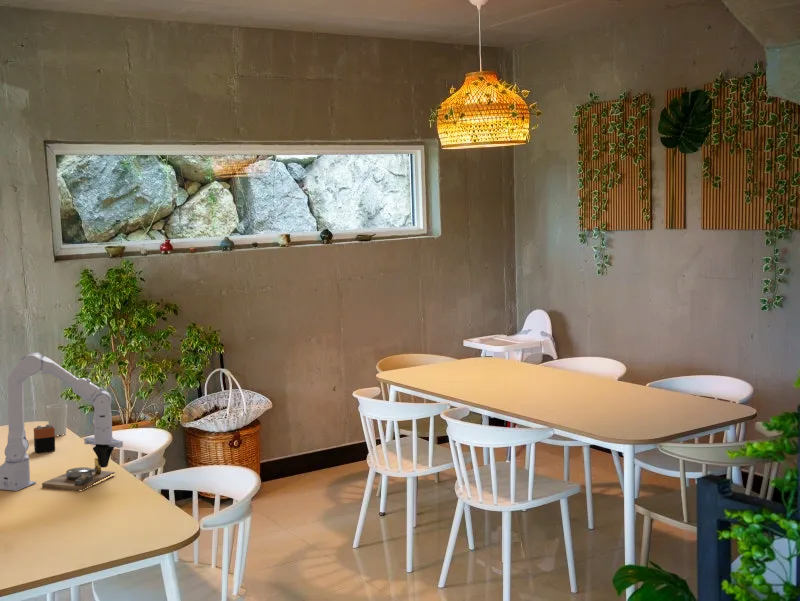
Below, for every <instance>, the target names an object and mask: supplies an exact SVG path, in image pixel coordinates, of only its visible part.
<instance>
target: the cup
mask: <svg viewBox="0 0 800 601" xmlns="http://www.w3.org/2000/svg"><path fill="white" fill-rule="evenodd" d="M46 412H47V419H48V420H47V421H48V424H51V426H52V427H54V429H55V436H57V435H63V434H66V435H67V421H68V419H67V418H68V417H67V416H68V415H67V414H68V404H67V403H66V404H65V403H57V404H54V403H53V404H50V405H47V406H46ZM57 437H58V436H57Z"/></svg>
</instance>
